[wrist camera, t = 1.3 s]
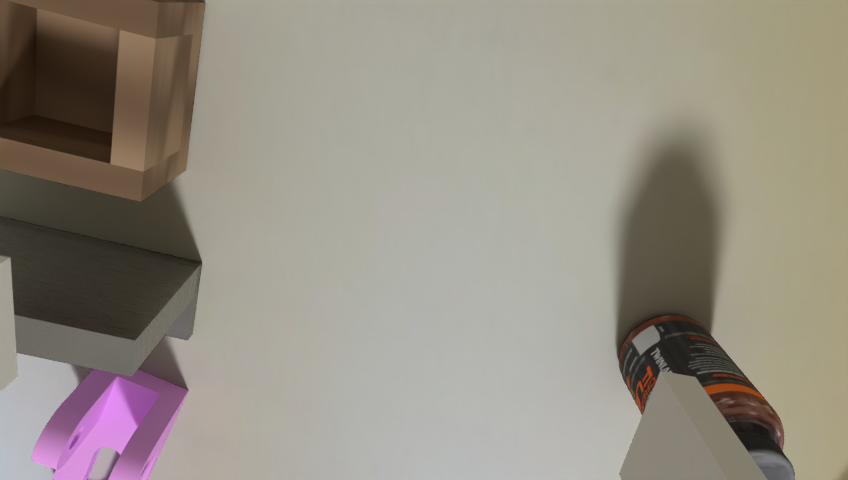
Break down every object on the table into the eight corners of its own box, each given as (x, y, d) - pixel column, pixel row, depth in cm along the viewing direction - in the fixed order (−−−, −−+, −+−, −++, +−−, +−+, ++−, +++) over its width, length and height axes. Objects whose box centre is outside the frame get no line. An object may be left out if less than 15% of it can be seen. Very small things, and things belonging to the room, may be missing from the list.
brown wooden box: (22, -46, 30) (-66, -58, 25) (205, 2, 31) (159, 2, 25) (19, 130, 33) (-59, 155, 28) (185, 170, 34) (140, 201, 28)
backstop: (-7, 215, 35) (-141, 281, 27) (202, 262, 36) (135, 340, 28) (-6, 290, 37) (-133, 375, 28) (192, 333, 38) (126, 427, 30)
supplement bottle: (606, 326, 38) (677, 451, 27) (702, 299, 37) (813, 416, 27) (625, 402, 40) (698, 545, 29) (716, 378, 39) (824, 516, 29)
